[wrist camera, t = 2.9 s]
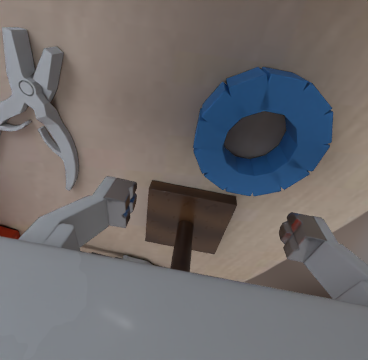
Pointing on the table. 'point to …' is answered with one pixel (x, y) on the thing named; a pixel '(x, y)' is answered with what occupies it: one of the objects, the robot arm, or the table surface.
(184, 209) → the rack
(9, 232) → the file binder
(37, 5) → the table surface
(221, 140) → the tape roll
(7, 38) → the pliers
